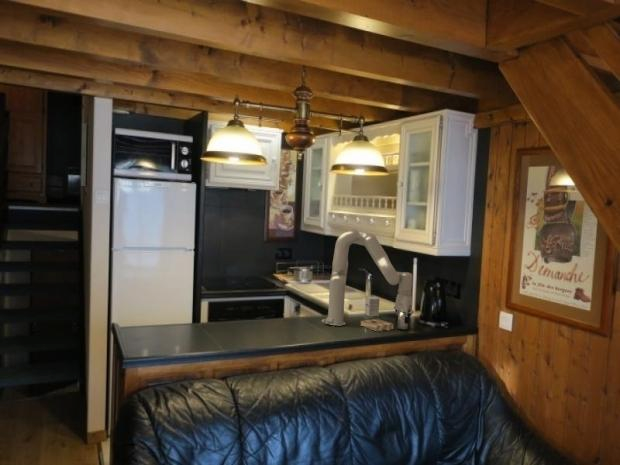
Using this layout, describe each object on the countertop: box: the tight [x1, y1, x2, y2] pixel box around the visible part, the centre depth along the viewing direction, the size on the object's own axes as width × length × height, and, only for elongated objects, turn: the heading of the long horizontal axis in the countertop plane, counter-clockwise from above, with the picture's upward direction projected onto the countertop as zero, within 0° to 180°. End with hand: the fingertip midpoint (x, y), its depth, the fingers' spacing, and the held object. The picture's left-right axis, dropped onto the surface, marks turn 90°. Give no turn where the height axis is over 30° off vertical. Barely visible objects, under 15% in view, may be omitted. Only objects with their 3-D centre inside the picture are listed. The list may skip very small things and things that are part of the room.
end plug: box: [397, 309, 409, 330], centre depth 299 cm, size 7×7×12 cm
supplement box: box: [364, 296, 380, 317], centre depth 333 cm, size 7×7×13 cm
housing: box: [360, 318, 394, 332], centre depth 300 cm, size 14×14×4 cm
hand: (402, 321), depth 299 cm, fingers closed on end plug, 6 cm apart
